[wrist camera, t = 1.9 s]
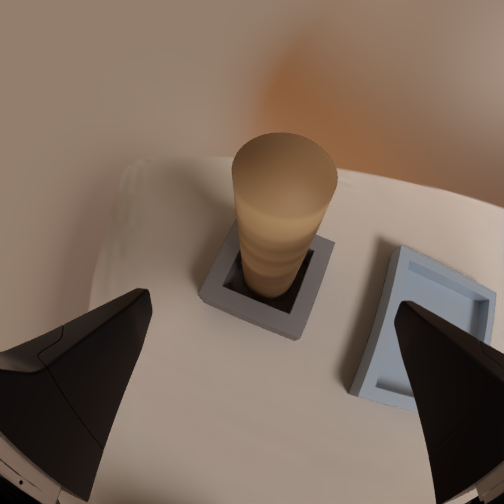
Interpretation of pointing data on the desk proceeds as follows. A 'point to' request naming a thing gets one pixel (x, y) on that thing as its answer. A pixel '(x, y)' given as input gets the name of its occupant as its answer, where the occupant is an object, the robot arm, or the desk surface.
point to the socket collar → (257, 312)
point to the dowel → (279, 207)
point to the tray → (433, 299)
